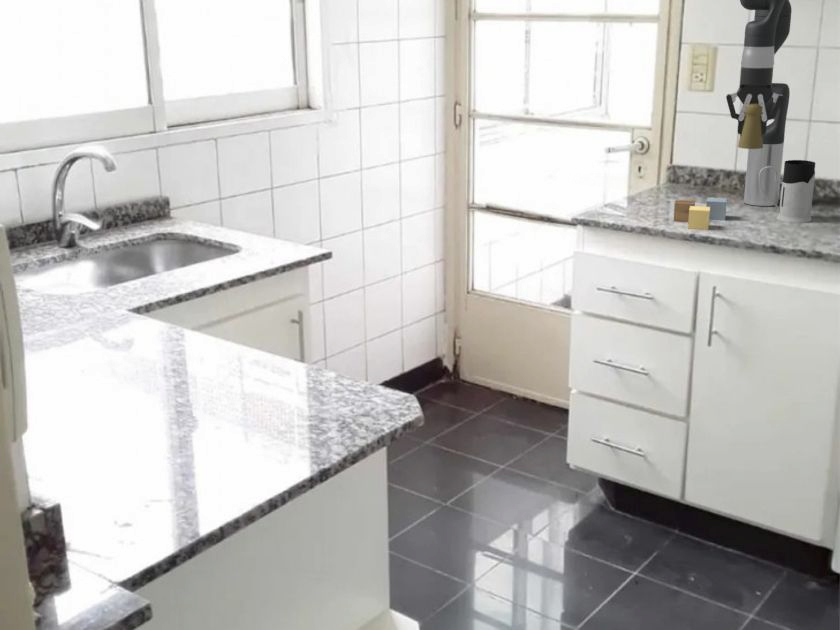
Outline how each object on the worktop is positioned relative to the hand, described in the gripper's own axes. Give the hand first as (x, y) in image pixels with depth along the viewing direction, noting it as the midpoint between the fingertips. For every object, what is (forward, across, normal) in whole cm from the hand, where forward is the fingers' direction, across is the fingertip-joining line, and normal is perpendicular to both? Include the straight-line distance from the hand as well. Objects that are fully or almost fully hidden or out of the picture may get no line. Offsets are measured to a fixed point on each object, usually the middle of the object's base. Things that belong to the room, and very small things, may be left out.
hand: (751, 135), depth 248 cm
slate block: (+23, +7, -9) cm, 26 cm away
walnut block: (+23, +15, -5) cm, 28 cm away
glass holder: (+23, -10, -12) cm, 28 cm away
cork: (+3, 0, 0) cm, 3 cm away
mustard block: (+23, +11, +3) cm, 26 cm away
